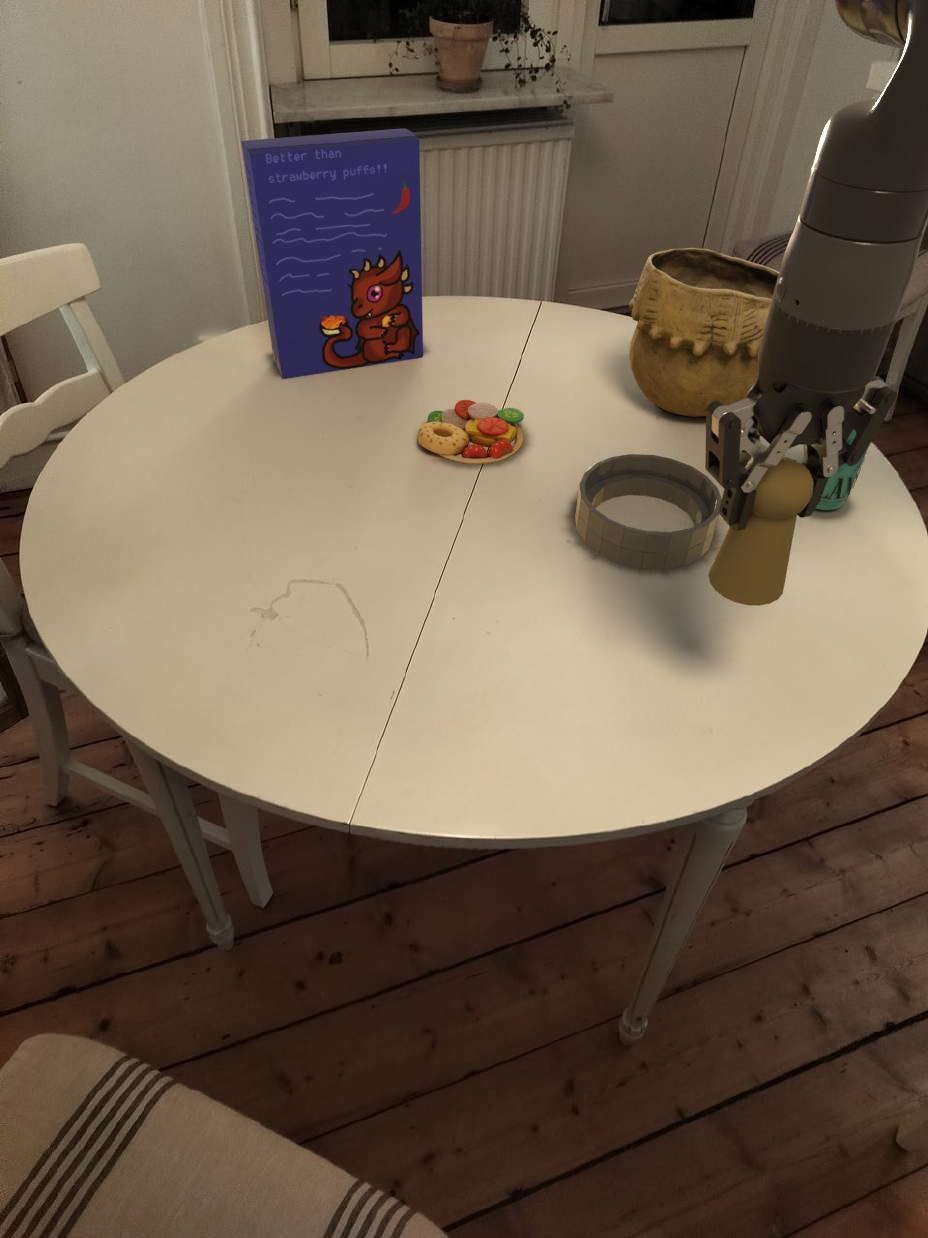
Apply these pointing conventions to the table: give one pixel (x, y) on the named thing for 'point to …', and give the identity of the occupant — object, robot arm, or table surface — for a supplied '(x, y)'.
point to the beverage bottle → (845, 475)
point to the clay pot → (698, 328)
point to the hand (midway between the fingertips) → (766, 516)
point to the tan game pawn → (763, 538)
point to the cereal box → (339, 247)
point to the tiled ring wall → (653, 481)
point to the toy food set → (472, 432)
